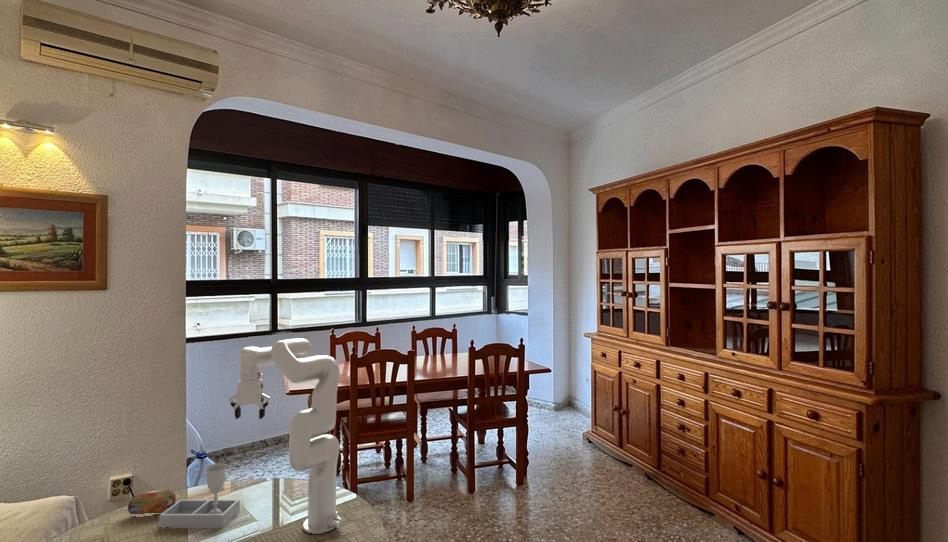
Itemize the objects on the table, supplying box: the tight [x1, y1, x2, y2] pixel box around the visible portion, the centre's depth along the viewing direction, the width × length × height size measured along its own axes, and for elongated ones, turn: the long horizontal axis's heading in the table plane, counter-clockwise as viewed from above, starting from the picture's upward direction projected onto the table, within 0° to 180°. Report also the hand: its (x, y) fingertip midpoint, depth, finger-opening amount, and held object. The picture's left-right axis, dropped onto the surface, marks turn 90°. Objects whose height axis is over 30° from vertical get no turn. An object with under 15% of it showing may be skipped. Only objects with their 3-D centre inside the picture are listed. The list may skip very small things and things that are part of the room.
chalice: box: [204, 462, 228, 514], centre depth 168 cm, size 7×7×18 cm
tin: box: [127, 489, 177, 515], centre depth 172 cm, size 15×3×8 cm, turn 105°
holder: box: [158, 499, 241, 529], centre depth 167 cm, size 22×12×4 cm, turn 90°
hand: (249, 418), depth 191 cm, fingers open, 9 cm apart
